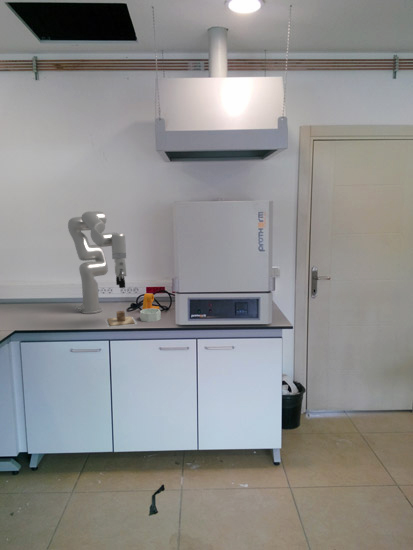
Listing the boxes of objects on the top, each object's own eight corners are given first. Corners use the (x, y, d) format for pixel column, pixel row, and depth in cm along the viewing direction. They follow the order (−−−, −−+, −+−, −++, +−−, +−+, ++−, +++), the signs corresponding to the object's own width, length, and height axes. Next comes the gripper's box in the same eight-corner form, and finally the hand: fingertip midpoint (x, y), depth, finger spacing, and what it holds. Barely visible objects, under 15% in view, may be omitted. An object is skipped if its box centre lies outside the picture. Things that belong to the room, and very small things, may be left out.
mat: (108, 328, 208) (108, 327, 208) (105, 320, 223) (105, 319, 223) (137, 325, 213) (137, 324, 213) (132, 317, 228) (132, 316, 228)
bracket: (153, 315, 234) (153, 296, 232) (142, 314, 236) (141, 295, 234) (159, 310, 244) (159, 292, 242) (149, 309, 246) (148, 291, 244)
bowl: (142, 323, 217) (142, 314, 216) (139, 318, 227) (138, 309, 226) (162, 321, 221) (161, 312, 220) (157, 316, 231) (157, 307, 230)
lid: (110, 326, 209) (109, 316, 208) (107, 319, 222) (107, 310, 221) (134, 323, 214) (134, 313, 213) (130, 317, 226) (130, 308, 225)
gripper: (128, 257, 206) (130, 288, 208) (123, 254, 222) (124, 283, 224) (114, 257, 203) (116, 289, 206) (110, 254, 219) (111, 284, 222)
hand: (120, 286), depth 215 cm, fingers open, 9 cm apart
